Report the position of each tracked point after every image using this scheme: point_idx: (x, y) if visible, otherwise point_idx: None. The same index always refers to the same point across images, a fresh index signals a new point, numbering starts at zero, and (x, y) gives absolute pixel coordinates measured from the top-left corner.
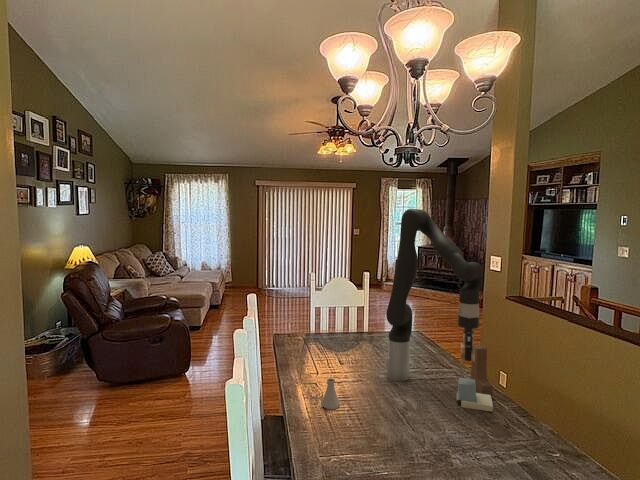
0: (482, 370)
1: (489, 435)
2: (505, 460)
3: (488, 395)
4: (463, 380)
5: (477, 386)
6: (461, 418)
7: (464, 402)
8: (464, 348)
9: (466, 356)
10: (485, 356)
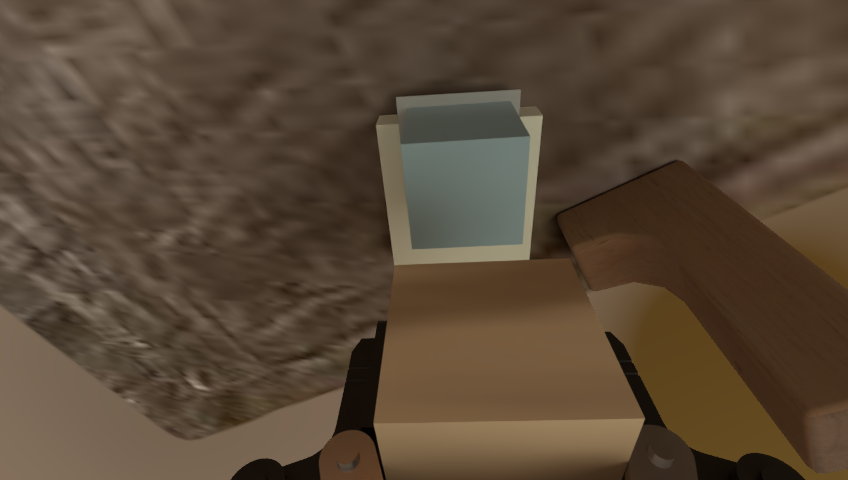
0: (686, 292)
1: (170, 235)
2: (38, 274)
3: (519, 254)
4: (478, 173)
5: (614, 211)
6: (245, 121)
7: (378, 142)
8: (383, 449)
9: (349, 373)
10: (756, 394)
